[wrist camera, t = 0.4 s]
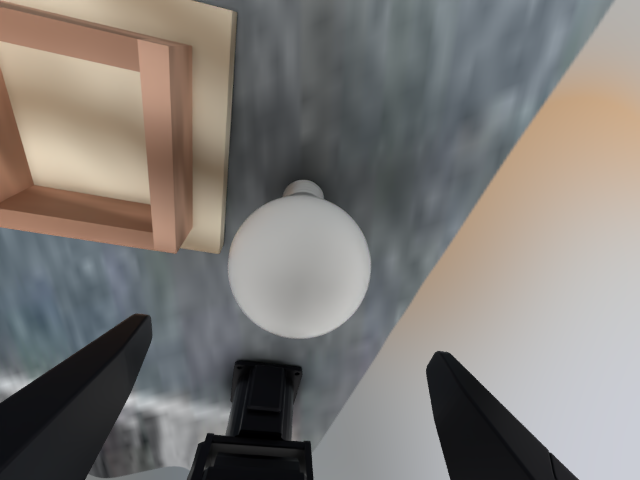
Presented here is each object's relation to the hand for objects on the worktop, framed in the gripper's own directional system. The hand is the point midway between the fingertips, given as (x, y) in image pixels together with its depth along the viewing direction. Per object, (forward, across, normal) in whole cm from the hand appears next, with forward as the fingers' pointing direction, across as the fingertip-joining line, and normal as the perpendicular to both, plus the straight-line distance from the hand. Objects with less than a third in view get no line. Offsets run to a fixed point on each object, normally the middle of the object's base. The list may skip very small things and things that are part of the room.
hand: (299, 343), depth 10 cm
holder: (+13, +12, -2) cm, 17 cm away
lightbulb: (+13, 0, 0) cm, 13 cm away
